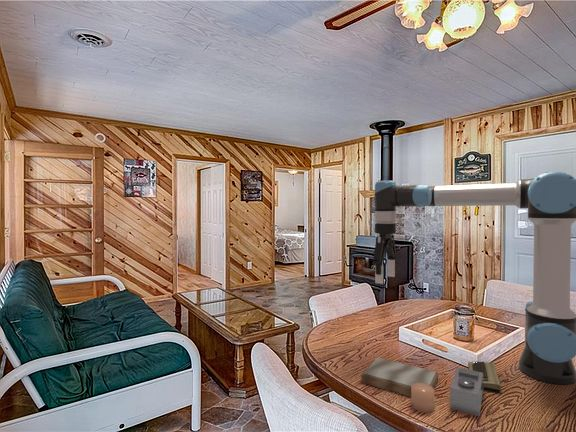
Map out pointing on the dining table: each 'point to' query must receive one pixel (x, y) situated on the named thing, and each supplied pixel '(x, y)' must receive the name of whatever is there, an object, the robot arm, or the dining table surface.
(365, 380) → the stand
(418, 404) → the beige egg
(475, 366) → the computer
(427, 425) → the dining table surface
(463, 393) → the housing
